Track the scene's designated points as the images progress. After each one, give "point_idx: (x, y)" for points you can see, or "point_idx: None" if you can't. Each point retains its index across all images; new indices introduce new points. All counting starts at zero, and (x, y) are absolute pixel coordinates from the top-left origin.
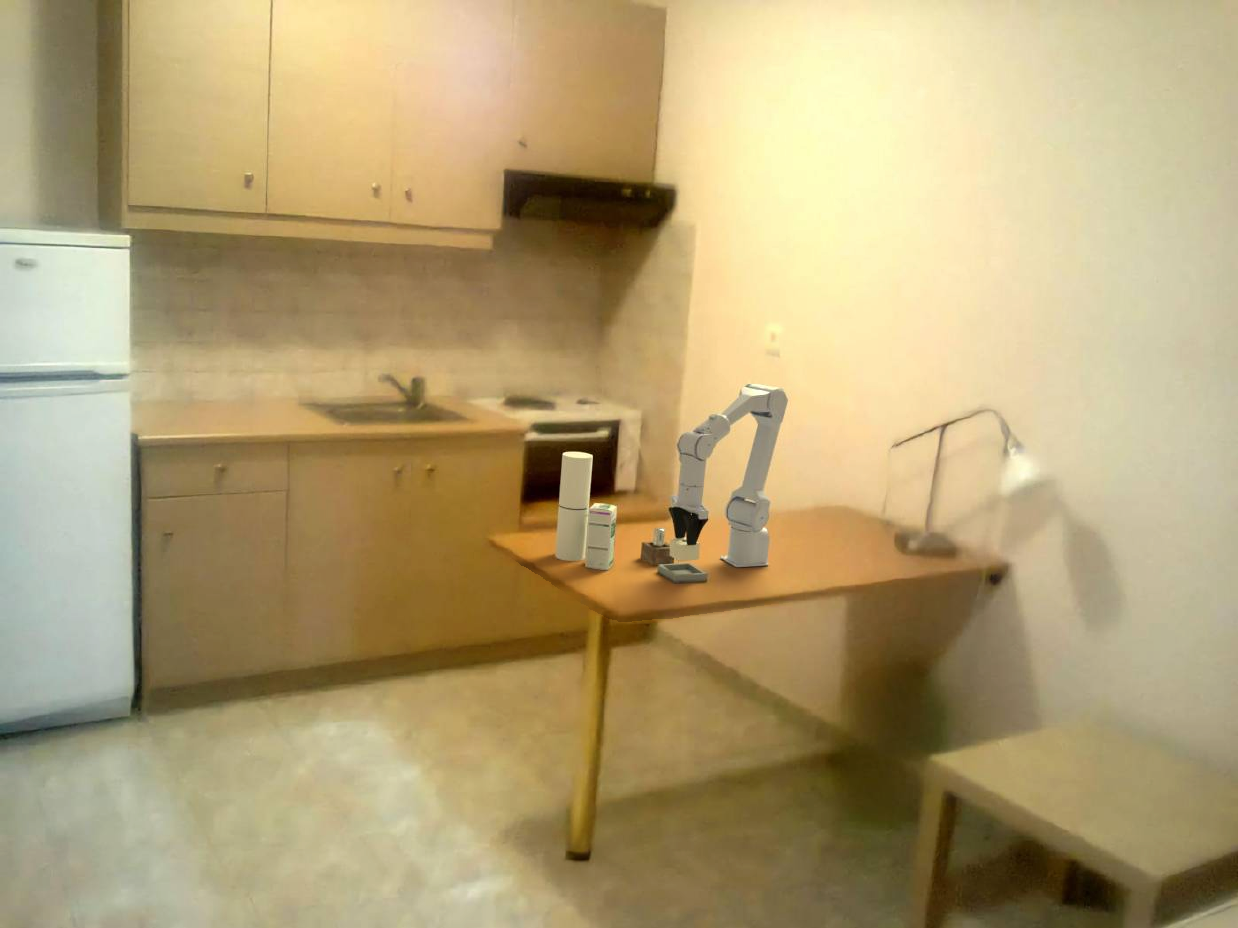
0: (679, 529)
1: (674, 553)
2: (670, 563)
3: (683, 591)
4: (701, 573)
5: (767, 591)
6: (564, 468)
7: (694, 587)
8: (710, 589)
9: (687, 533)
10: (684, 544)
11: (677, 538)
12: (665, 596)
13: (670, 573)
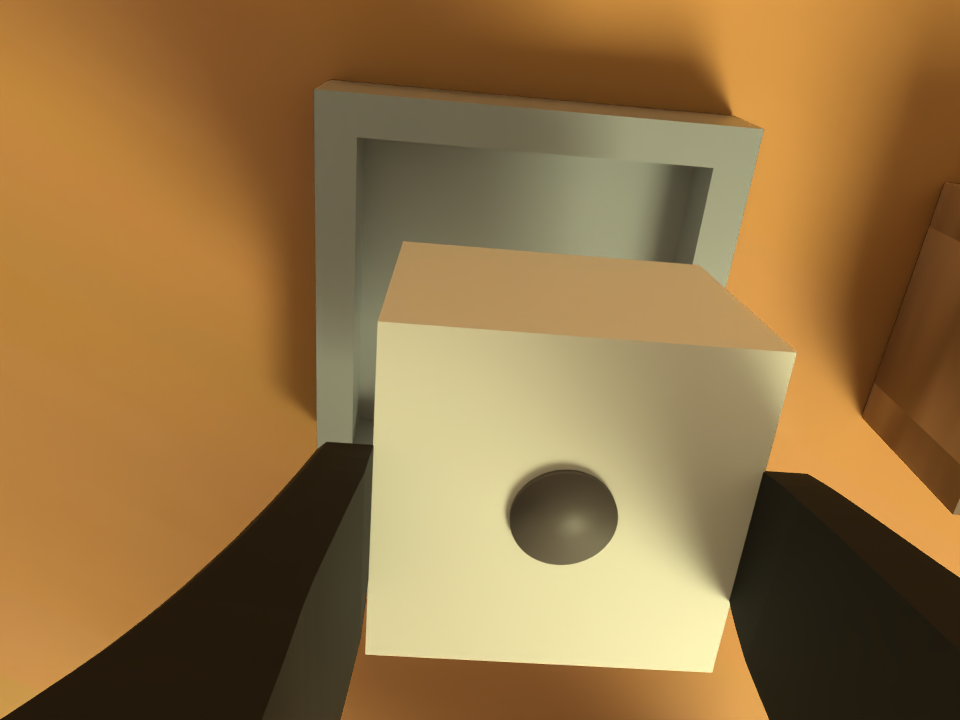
0: (824, 628)
1: (575, 273)
2: (875, 388)
3: (55, 20)
4: (335, 421)
5: (24, 701)
6: None
7: (175, 221)
8: (100, 337)
9: (253, 560)
10: (382, 405)
11: (745, 478)
12: None
13: (437, 98)
